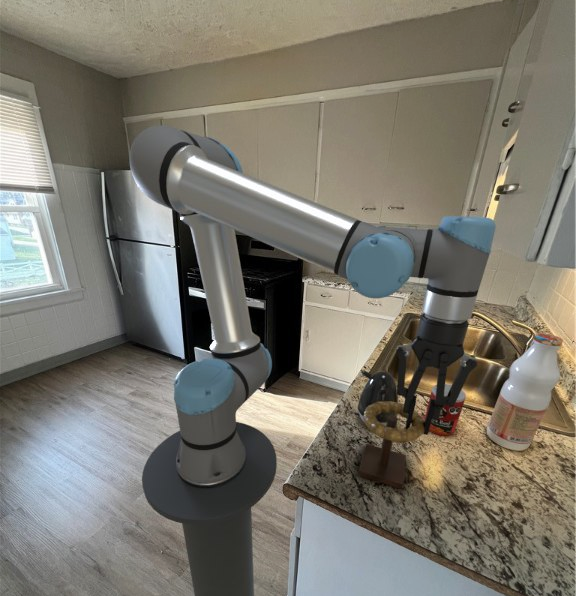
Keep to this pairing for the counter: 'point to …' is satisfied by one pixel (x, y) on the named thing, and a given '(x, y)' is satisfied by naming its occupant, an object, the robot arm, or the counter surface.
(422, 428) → the ring
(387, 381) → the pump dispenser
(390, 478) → the post
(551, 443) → the counter surface
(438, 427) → the canned food
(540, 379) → the fruit juice
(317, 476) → the counter surface
